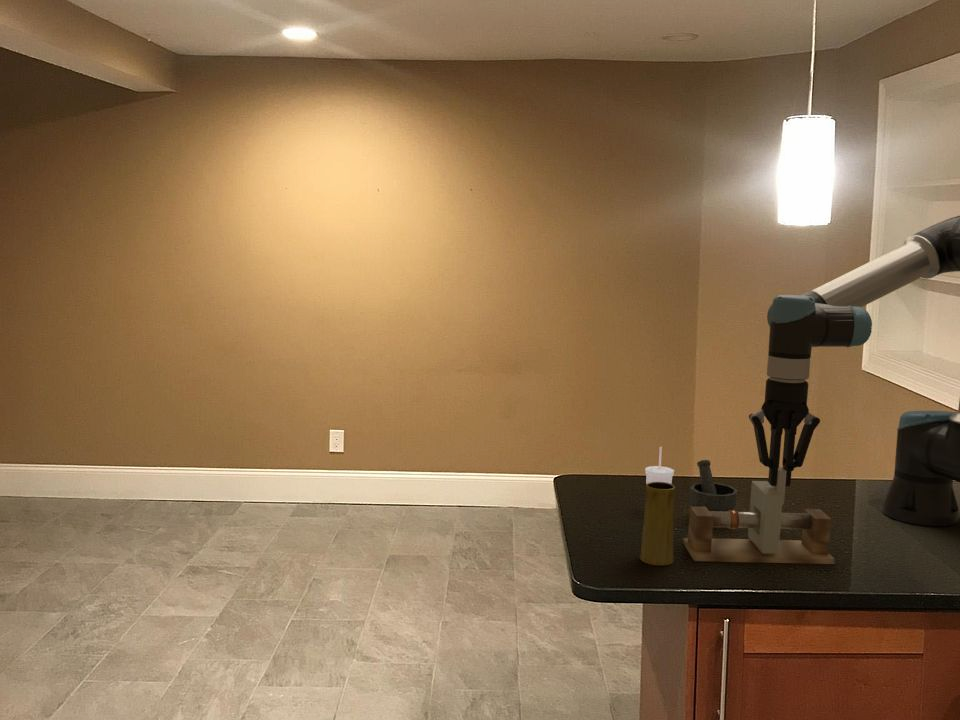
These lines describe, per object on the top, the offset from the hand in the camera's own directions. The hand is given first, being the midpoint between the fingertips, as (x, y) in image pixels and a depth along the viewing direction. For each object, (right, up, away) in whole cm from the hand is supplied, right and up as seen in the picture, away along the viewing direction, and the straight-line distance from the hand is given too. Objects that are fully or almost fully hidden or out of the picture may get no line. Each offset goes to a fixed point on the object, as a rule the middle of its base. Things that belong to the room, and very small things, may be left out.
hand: (777, 502), depth 185 cm
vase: (-24, -10, -4) cm, 26 cm away
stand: (-4, -10, +2) cm, 11 cm away
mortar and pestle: (-8, -7, +21) cm, 24 cm away
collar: (-2, -8, +1) cm, 9 cm away
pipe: (-3, -5, +1) cm, 6 cm away
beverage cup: (-18, -6, +27) cm, 33 cm away
